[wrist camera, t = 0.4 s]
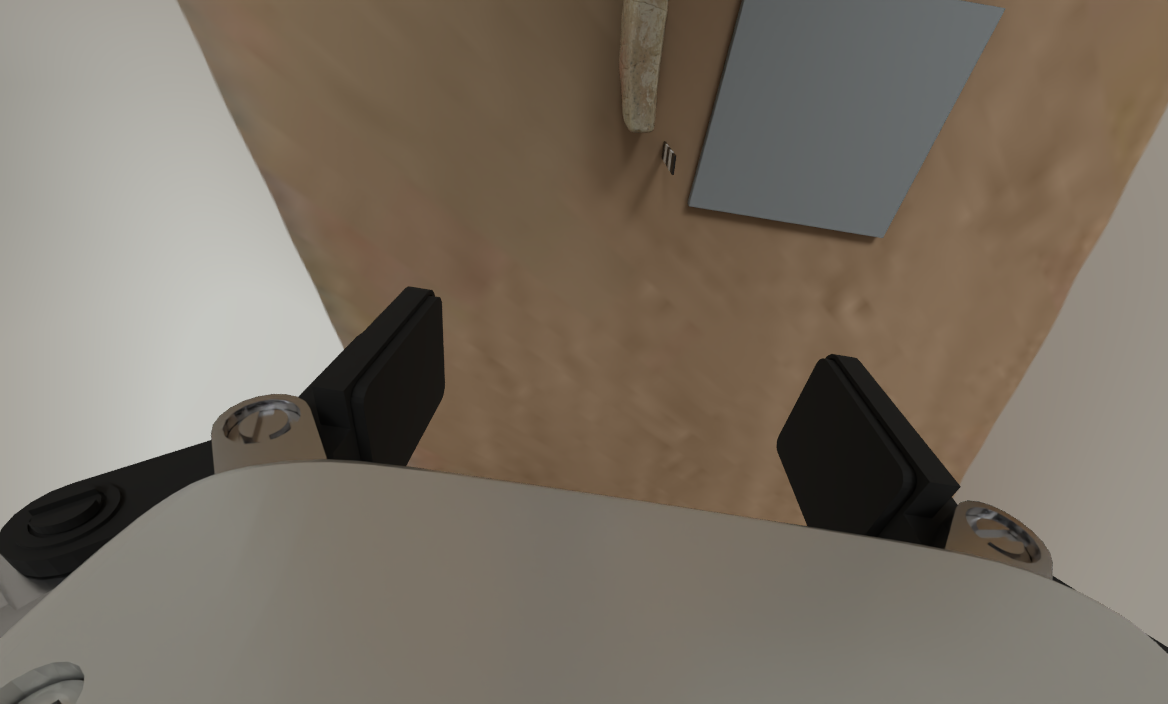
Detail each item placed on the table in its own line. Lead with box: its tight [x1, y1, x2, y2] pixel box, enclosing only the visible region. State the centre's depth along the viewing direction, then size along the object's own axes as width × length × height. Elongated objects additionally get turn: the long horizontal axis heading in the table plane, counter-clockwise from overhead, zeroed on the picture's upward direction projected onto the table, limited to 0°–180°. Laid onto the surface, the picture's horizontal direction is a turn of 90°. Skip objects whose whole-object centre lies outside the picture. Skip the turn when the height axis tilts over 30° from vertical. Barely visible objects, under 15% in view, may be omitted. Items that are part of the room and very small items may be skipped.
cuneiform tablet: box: [619, 0, 676, 175], centre depth 27 cm, size 6×4×12 cm
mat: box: [688, 0, 1005, 238], centre depth 30 cm, size 14×15×1 cm
